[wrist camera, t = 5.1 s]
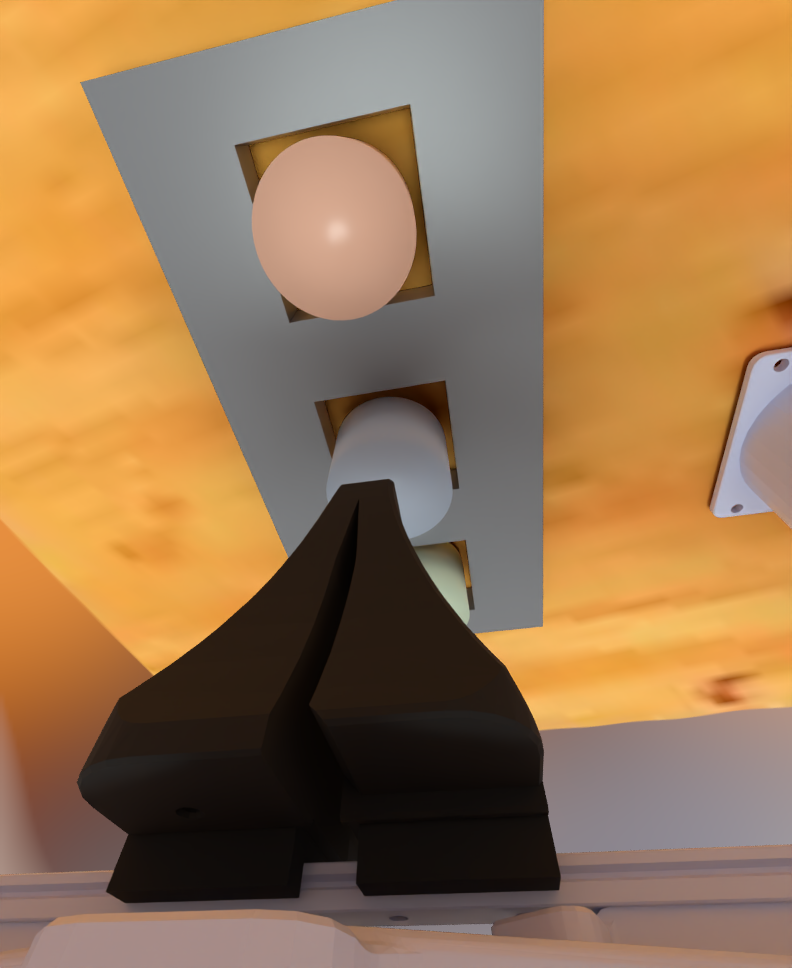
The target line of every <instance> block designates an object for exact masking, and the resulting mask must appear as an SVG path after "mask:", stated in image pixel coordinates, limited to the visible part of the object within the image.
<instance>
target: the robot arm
mask: <svg viewBox="0 0 792 968" xmlns="http://www.w3.org/2000/svg"><path fill="white" fill-rule="evenodd" d="M781 359H782V361H781V363H780V364H779V365H778V366H777V367H774V365H775V363H776V362H778V361H779V360H781ZM734 505H736V506H734ZM733 506H734V507H733ZM710 511H711V512H712V513H713V514H714V515H715V516H716V517H719V518H723V517H731V516H739V515H747V514H755V513H764V512H772V511H774V512H775V513H776V514H777V515H778V516H779V517H780V518H781V519H782V520H783V521H784V522H785V523H786V524H787V525H788V526H789V527H790V528H791V529H792V347H790V348H784V349H778V350H772V351H765V352H762V353H759V354H757V355H756V356H754V357H753V358H752V359H751V361H750V362H749V364H748V366H747V370H746V373H745V377H744V381H743V385H742V388H741V392H740V396H739V400H738V403H737V407H736V411H735V415H734V418H733V422H732V426H731V430H730V433H729V437H728V441H727V445H726V448H725V452H724V456H723V460H722V463H721V467H720V471H719V475H718V478H717V482H716V486H715V490H714V493H713V497H712V501H711V505H710ZM543 756H544V750H543V744H542V740H541V736H540V733H539V731H538V728H537V725H536V723H535V720H534V718H533V716H532V714H531V712H530V710H529V708H528V706H527V704H526V702H525V700H524V698H523V696H522V694H521V692H520V691H519V689H518V687H517V685H516V684H515V682H514V680H513V678H512V677H511V675H510V673H509V671H508V670H507V668H506V666H505V665H504V664H503V663H502V662H501V661H500V660H499V659H498V658H497V657H496V656H495V655H494V654H493V653H492V652H491V651H490V650H489V649H488V648H487V647H486V646H485V645H484V644H483V643H482V642H481V641H480V640H479V639H478V638H477V637H476V635H475V634H474V633H473V632H472V631H471V630H470V629H469V628H468V626H467V625H466V624H465V623H464V622H463V621H462V619H461V618H460V617H459V615H458V614H457V613H456V612H455V610H454V609H453V608H452V607H451V605H450V604H449V603H448V601H447V600H446V599H445V598H444V596H443V595H442V594H441V592H440V591H439V589H438V588H437V586H436V585H435V583H434V582H433V580H432V579H431V577H430V576H429V574H428V572H427V571H426V569H425V568H424V566H423V564H422V563H421V561H420V559H419V557H418V555H417V554H416V552H415V550H414V548H413V546H412V544H411V542H410V540H409V538H408V535H407V533H406V531H405V528H404V526H403V523H402V519H401V514H400V509H399V504H398V499H397V495H396V490H395V485H394V482H393V481H392V480H390V479H382V480H374V481H366V482H358V483H350V484H342V485H341V486H340V487H339V488H338V489H337V491H336V492H335V494H334V495H333V497H332V498H331V500H330V502H329V503H328V505H327V506H326V508H325V509H324V511H323V512H322V514H321V515H320V517H319V518H318V519H317V521H316V522H315V524H314V525H313V526H312V528H311V529H310V531H309V532H308V533H307V535H306V536H305V538H304V539H303V540H302V542H301V543H300V544H299V546H298V547H297V548H296V549H295V551H294V552H293V553H292V554H291V556H290V557H289V558H288V559H287V561H286V562H285V563H284V564H283V566H282V567H281V568H280V569H279V570H278V571H277V572H276V574H275V575H274V576H273V577H272V578H271V579H270V580H269V581H268V582H267V583H266V584H265V585H264V586H263V587H262V588H261V589H260V590H259V591H258V593H257V594H256V595H255V596H253V597H252V598H251V599H250V600H249V601H248V602H247V603H246V604H245V605H244V606H243V607H242V608H240V609H239V610H238V611H237V612H236V613H235V614H234V615H233V616H231V617H230V618H229V619H228V620H227V621H226V622H225V623H224V624H222V625H221V626H220V627H219V628H218V629H217V630H215V631H214V632H213V633H212V634H210V635H209V636H208V637H207V638H205V639H204V640H203V641H202V642H200V643H199V644H198V645H196V646H195V647H194V648H192V649H191V650H190V651H188V652H187V653H186V654H184V655H183V656H182V657H180V658H179V659H178V660H176V661H175V662H173V663H172V664H171V665H169V666H168V667H166V668H165V669H163V670H162V671H160V672H159V673H157V674H156V675H154V676H153V677H151V678H150V679H148V680H147V681H145V682H144V683H142V684H141V685H139V686H138V687H136V688H135V689H133V690H132V691H130V692H129V693H127V694H125V695H124V696H122V697H121V698H119V700H118V702H117V703H116V705H115V707H114V709H113V711H112V713H111V714H110V717H109V718H108V720H107V722H106V724H105V726H104V728H103V730H102V732H101V734H100V736H99V737H98V740H97V741H96V743H95V746H94V747H93V749H92V751H91V753H90V755H89V757H88V759H87V761H86V763H85V765H84V767H83V769H82V771H81V773H80V775H79V778H78V781H77V784H78V786H79V789H80V792H81V794H82V797H83V798H84V799H85V800H86V801H87V802H88V803H89V804H90V805H91V806H92V807H93V808H95V809H96V810H97V811H99V812H100V813H101V814H102V815H104V816H105V817H106V818H108V819H109V820H111V821H112V822H113V823H114V824H116V825H117V826H118V827H120V828H121V829H122V830H123V831H125V832H126V833H128V837H127V840H126V842H125V845H124V847H123V849H122V852H121V855H120V857H119V859H118V862H117V864H116V867H115V869H114V870H112V871H110V870H109V871H85V872H57V873H34V874H33V873H31V874H5V875H0V968H792V845H765V846H741V847H740V846H739V847H713V848H688V849H663V850H662V849H660V850H636V851H635V850H634V851H608V852H582V853H557V854H556V851H555V847H554V842H553V837H552V832H551V828H550V823H549V818H548V813H549V811H548V804H547V799H546V795H545V790H544V786H543V781H542V780H543ZM451 924H452V925H457V924H493V926H492V927H491V930H492V935H481V934H467V933H451V932H437V931H423V930H408V929H394V928H379V927H370V926H409V925H410V926H411V925H451Z"/></svg>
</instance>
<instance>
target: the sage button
mask: <svg viewBox="0 0 792 968" xmlns="http://www.w3.org/2000/svg"><path fill="white" fill-rule="evenodd" d="M413 548H414V550H415V552H416V554H417V555H418V557H419V559H420V561H421V563H422V564H423V566H424V568H425V569H426V571H427V572H428V574H429V576H430V577H431V579H432V580H433V582H434V583H435V585H436V586H437V588H438V589H439V591H440V592H441V594H442V595H443V596H444V598H445V599H446V600H447V601H448V603H449V604H450V605H451V607H452V608H453V609H454V610H455V612H456V613H457V614H458V615H459V617H460V618H461V619H462V621H463V622H464V623H465V624H466V625H467V623H468V621H469V617H470V611H469V604H468V597H467V590H466V583H465V577H464V570H463V563H462V558H461V555H460V553H459V552H458V550H457V549H456V548H455V547H454V546H453V545H452V544H450V543H449V542H446V543H438V544H430V545H422V546H414V547H413Z"/></svg>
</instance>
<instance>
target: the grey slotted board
mask: <svg viewBox="0 0 792 968" xmlns="http://www.w3.org/2000/svg"><path fill="white" fill-rule="evenodd" d="M80 83H81V85H82V87H83V89H84V92H85V94H86V96H87V99H88V101H89V103H90V105H91V108H92V110H93V112H94V115H95V117H96V119H97V121H98V124H99V126H100V128H101V131H102V133H103V135H104V137H105V140H106V142H107V144H108V147H109V149H110V151H111V153H112V156H113V158H114V160H115V163H116V165H117V167H118V169H119V172H120V174H121V176H122V179H123V181H124V183H125V185H126V188H127V190H128V192H129V194H130V197H131V199H132V201H133V204H134V206H135V208H136V210H137V213H138V215H139V217H140V220H141V222H142V224H143V226H144V229H145V231H146V233H147V236H148V238H149V240H150V242H151V245H152V247H153V249H154V252H155V254H156V256H157V258H158V261H159V263H160V265H161V268H162V270H163V272H164V274H165V277H166V279H167V281H168V284H169V286H170V288H171V290H172V293H173V295H174V297H175V300H176V302H177V304H178V306H179V309H180V311H181V313H182V315H183V318H184V320H185V322H186V325H187V327H188V329H189V331H190V334H191V336H192V338H193V341H194V343H195V345H196V347H197V350H198V352H199V354H200V357H201V359H202V361H203V363H204V366H205V368H206V370H207V373H208V375H209V377H210V379H211V382H212V384H213V386H214V389H215V391H216V393H217V395H218V398H219V400H220V402H221V405H222V407H223V409H224V411H225V414H226V416H227V418H228V421H229V423H230V425H231V427H232V430H233V432H234V434H235V436H236V439H237V441H238V443H239V446H240V448H241V450H242V452H243V455H244V457H245V459H246V462H247V464H248V466H249V468H250V471H251V473H252V475H253V478H254V480H255V482H256V484H257V487H258V489H259V491H260V494H261V496H262V498H263V500H264V503H265V505H266V507H267V510H268V512H269V514H270V516H271V519H272V521H273V523H274V526H275V528H276V530H277V532H278V535H279V537H280V539H281V542H282V544H283V546H284V548H285V551H286V553H287V555H288V558H289V557H290V556H291V554H292V553H293V552H294V551H295V549H296V548H297V547H298V546H299V544H300V543H301V542H302V540H303V539H304V538H305V536H306V535H307V533H308V532H309V531H310V529H311V528H312V526H313V525H314V524H315V522H316V521H317V519H318V518H319V517H320V515H321V514H322V512H323V511H324V509H325V508H326V506H327V505H328V499H327V493H326V487H327V480H328V475H329V471H330V467H331V462H332V458H333V453H334V449H335V444H336V439H335V436H334V432H333V429H332V426H331V422H330V419H329V415H328V412H327V409H326V405H325V402H324V400H329V399H335V398H341V397H347V396H354V395H360V394H366V393H372V392H378V391H384V390H390V389H396V388H402V387H408V386H414V385H420V384H426V383H433V382H439V381H445V386H446V394H447V401H448V409H449V417H450V425H451V433H452V440H453V448H454V456H455V464H456V469H453V470H450V473H451V480H452V489H453V494H452V501H451V504H450V507H449V509H448V511H447V513H446V514H445V516H444V517H443V519H442V520H441V521H440V522H439V523H438V524H437V525H436V526H435V527H433V528H432V529H430V530H429V531H427V532H425V533H423V534H421V535H419V536H416V537H414V538H410V539H409V540H410V542H411V544H412V546H413V547H414V546H422V545H430V544H438V543H446V542H454V541H462V540H465V541H466V549H467V557H468V565H469V572H470V580H471V588H466V590H467V597H468V604H469V611H470V617H469V621H468V623H467V626H468V628H469V629H470V630H471V631H472V632H473V633H483V632H493V631H503V630H513V629H522V628H532V627H542V626H543V98H544V0H395V1H392V2H388V3H384V4H380V5H376V6H372V7H368V8H365V9H361V10H357V11H353V12H349V13H345V14H342V15H338V16H334V17H330V18H326V19H322V20H318V21H315V22H311V23H307V24H303V25H299V26H295V27H292V28H288V29H284V30H280V31H276V32H272V33H269V34H265V35H261V36H257V37H253V38H249V39H245V40H242V41H238V42H234V43H230V44H226V45H222V46H219V47H215V48H211V49H207V50H203V51H199V52H195V53H192V54H188V55H184V56H180V57H176V58H172V59H169V60H165V61H161V62H157V63H153V64H149V65H145V66H142V67H138V68H134V69H130V70H126V71H122V72H119V73H115V74H111V75H107V76H103V77H99V78H96V79H92V80H88V81H84V82H80ZM406 108H410V114H411V122H412V130H413V137H414V145H415V153H416V161H417V168H418V176H419V184H420V192H421V199H422V207H423V215H424V223H425V231H426V238H427V246H428V254H429V262H430V269H431V277H432V285H430V286H425V287H419V288H414V289H409V290H403V291H398V292H397V294H396V295H395V296H394V297H393V298H392V299H391V300H390V301H389V302H388V303H387V304H385V305H384V306H383V307H382V308H380V309H378V310H377V311H375V312H373V313H371V314H369V315H366V316H364V317H361V318H357V319H352V320H329V319H324V318H320V317H317V316H314V315H311V314H309V313H307V312H305V311H303V310H297V307H296V306H295V305H293V304H292V303H291V302H289V301H288V300H287V299H286V298H285V297H284V296H283V295H282V294H281V293H280V292H279V291H278V290H277V289H276V287H275V286H274V285H273V284H272V282H271V281H270V279H269V278H268V276H267V275H266V273H265V271H264V269H263V267H262V265H261V263H260V260H259V258H258V255H257V252H256V248H255V244H254V240H253V233H252V209H253V202H254V198H255V193H256V190H257V188H258V185H259V179H258V176H257V172H256V169H255V166H254V162H253V159H252V156H251V152H250V149H249V145H251V144H256V143H260V142H264V141H269V140H273V139H277V138H281V137H286V136H290V135H294V134H299V133H303V132H307V131H311V130H316V129H320V128H324V127H329V126H333V125H337V124H342V123H346V122H350V121H354V120H359V119H363V118H367V117H372V116H376V115H380V114H384V113H389V112H393V111H397V110H402V109H406Z"/></svg>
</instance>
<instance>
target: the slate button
mask: <svg viewBox="0 0 792 968" xmlns="http://www.w3.org/2000/svg"><path fill="white" fill-rule="evenodd" d="M382 479H390V480H392V481H393V482H394V485H395V490H396V495H397V499H398V504H399V509H400V514H401V519H402V523H403V526H404V528H405V531H406V533H407V535H408V538H409V539H410V538H414V537H416V536H419V535H421V534H423V533H425V532H427V531H429V530H430V529H432V528H433V527H435V526H436V525H437V524H438V523H439V522H440V521H441V520H442V519H443V517H444V516H445V514H446V513H447V511H448V509H449V507H450V504H451V501H452V494H453V489H452V480H451V473H450V467H449V460H448V453H447V446H446V439H445V435H444V431H443V428H442V426H441V424H440V422H439V421H438V419H437V418H436V417H435V415H434V414H432V413H431V412H430V411H429V410H428V409H427V408H425V407H424V406H422V405H421V404H419V403H417V402H414V401H412V400H409V399H405V398H400V397H380V398H376V399H372V400H369V401H367V402H364V403H363V404H361V405H359V406H357V407H356V408H355V409H353V410H352V411H351V412H350V413H349V414H348V415H347V416H346V418H345V419H344V421H343V422H342V424H341V426H340V428H339V431H338V435H337V440H336V444H335V449H334V453H333V458H332V462H331V467H330V471H329V475H328V480H327V487H326V493H327V499H328V503H329V502H330V500H331V498H332V497H333V495H334V494H335V492H336V491H337V489H338V488H339V487H340V486H341V485H342V484H350V483H358V482H366V481H374V480H382Z"/></svg>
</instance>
